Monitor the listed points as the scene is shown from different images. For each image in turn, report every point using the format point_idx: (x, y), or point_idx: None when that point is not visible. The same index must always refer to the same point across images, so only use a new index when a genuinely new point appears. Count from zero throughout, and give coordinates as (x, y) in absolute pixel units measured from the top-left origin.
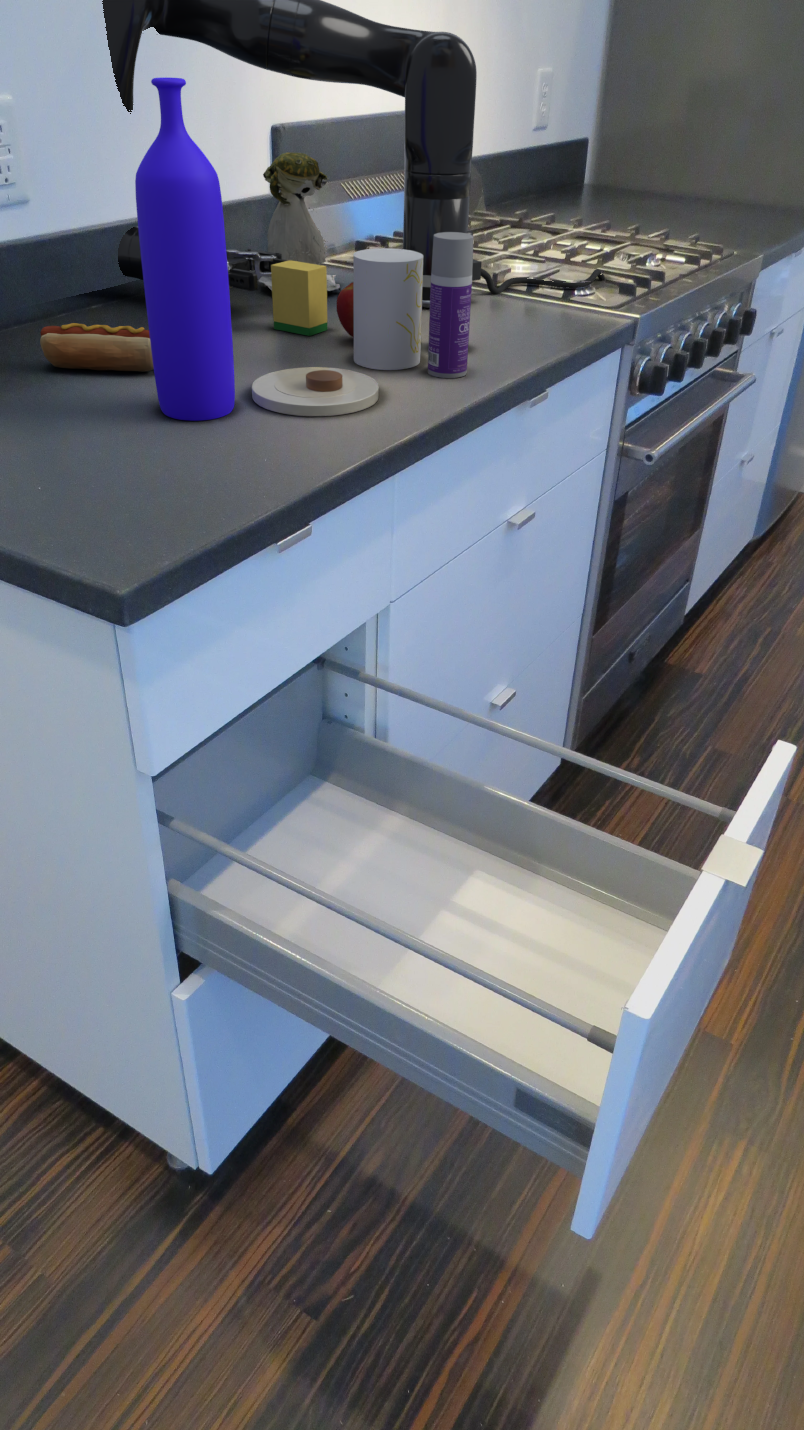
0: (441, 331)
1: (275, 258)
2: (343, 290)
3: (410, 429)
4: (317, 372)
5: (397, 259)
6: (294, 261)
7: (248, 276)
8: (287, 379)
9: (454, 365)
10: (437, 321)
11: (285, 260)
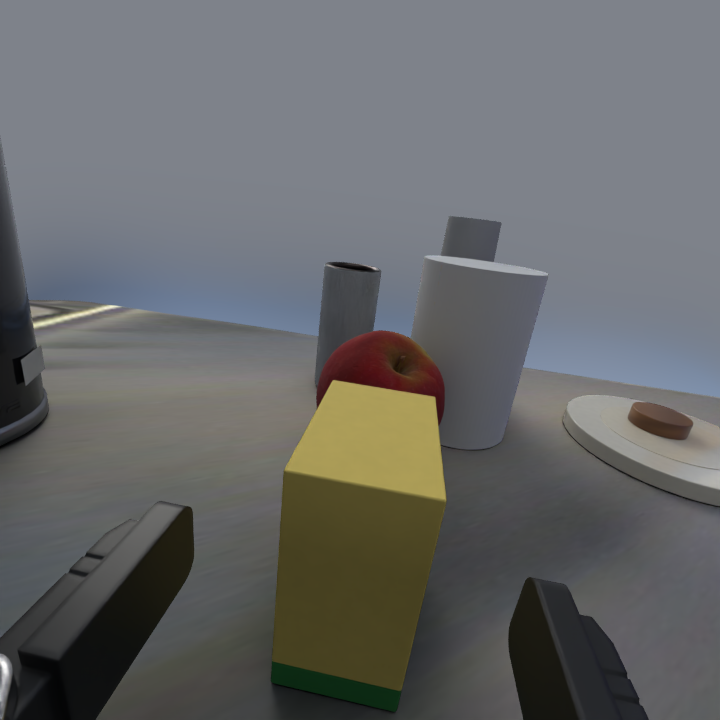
0: None
1: (4, 662)
2: (419, 382)
3: (612, 384)
4: (665, 419)
5: (499, 264)
6: (308, 449)
7: (583, 615)
8: (703, 461)
9: None
10: None
11: (119, 557)
